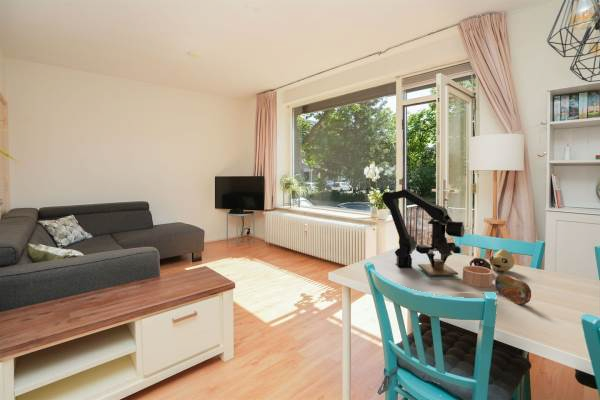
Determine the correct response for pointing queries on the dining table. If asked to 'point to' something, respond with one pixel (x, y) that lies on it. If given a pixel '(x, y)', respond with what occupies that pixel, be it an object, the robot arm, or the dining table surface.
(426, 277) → the teal mat
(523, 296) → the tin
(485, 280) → the terracotta bowl
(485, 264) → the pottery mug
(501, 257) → the yellow rounded lump
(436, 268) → the walnut lid
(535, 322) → the dining table surface
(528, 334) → the dining table surface
